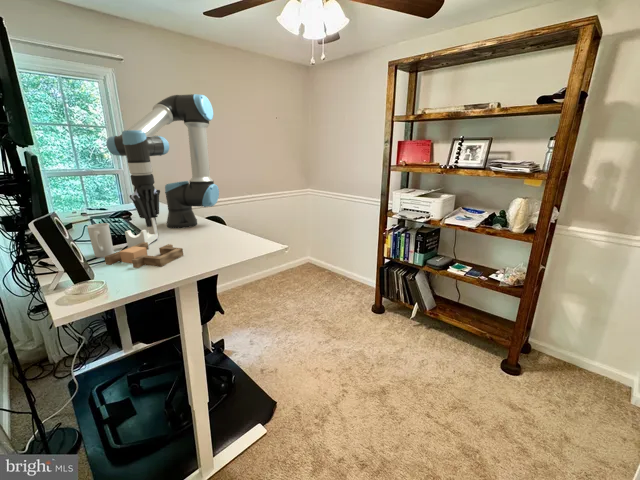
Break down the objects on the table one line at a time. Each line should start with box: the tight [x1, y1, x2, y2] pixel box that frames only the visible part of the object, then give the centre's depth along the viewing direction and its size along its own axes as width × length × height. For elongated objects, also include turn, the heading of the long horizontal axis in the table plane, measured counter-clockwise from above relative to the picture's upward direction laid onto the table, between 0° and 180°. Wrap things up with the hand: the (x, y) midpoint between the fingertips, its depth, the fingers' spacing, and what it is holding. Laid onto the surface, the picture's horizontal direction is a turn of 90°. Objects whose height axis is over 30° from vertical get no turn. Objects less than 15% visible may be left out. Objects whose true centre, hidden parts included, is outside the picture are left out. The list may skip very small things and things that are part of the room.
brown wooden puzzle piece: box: [103, 242, 184, 269], centre depth 115 cm, size 18×21×3 cm
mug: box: [86, 222, 115, 258], centre depth 116 cm, size 10×7×12 cm, turn 22°
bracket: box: [124, 229, 159, 248], centre depth 132 cm, size 13×7×8 cm, turn 6°
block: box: [119, 246, 148, 265], centre depth 113 cm, size 6×6×4 cm
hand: (153, 233), depth 121 cm, fingers closed
